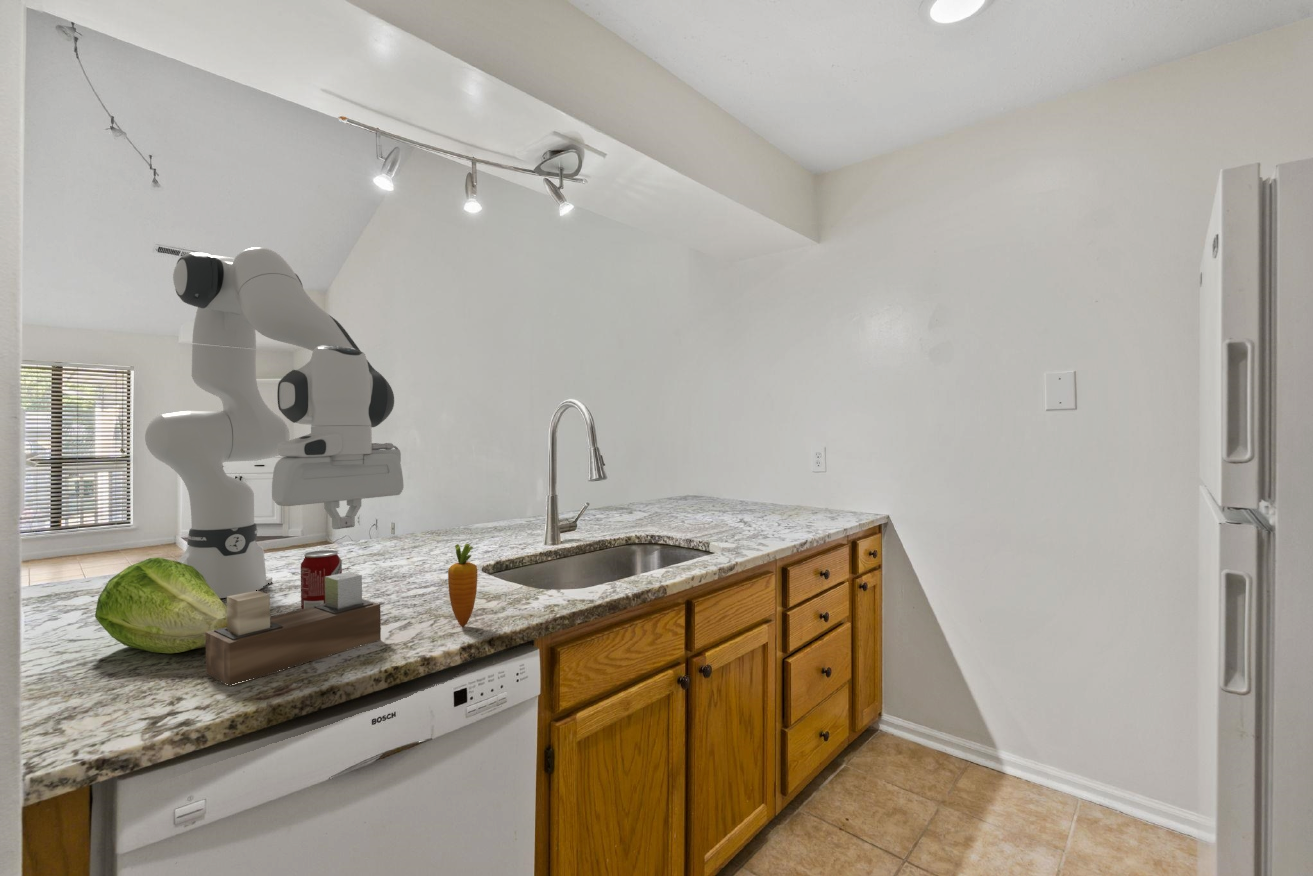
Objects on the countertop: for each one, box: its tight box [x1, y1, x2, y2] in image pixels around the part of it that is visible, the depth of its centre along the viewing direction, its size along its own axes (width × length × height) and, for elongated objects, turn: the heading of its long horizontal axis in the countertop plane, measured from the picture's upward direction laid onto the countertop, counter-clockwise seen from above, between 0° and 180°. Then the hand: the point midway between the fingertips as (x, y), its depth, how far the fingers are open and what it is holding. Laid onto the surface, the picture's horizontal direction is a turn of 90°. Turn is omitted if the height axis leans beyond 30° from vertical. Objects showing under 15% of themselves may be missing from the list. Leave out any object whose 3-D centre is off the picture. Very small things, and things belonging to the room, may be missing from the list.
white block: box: [325, 571, 363, 611], centre depth 100 cm, size 4×4×6 cm
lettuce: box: [94, 557, 227, 654], centre depth 96 cm, size 14×24×15 cm
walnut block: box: [205, 598, 382, 686], centre depth 94 cm, size 8×22×6 cm, turn 146°
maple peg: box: [226, 590, 271, 636], centre depth 88 cm, size 4×4×6 cm
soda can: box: [300, 549, 343, 609], centre depth 114 cm, size 7×7×12 cm
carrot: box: [447, 543, 478, 628], centre depth 107 cm, size 5×5×15 cm
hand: (343, 528), depth 99 cm, fingers closed
